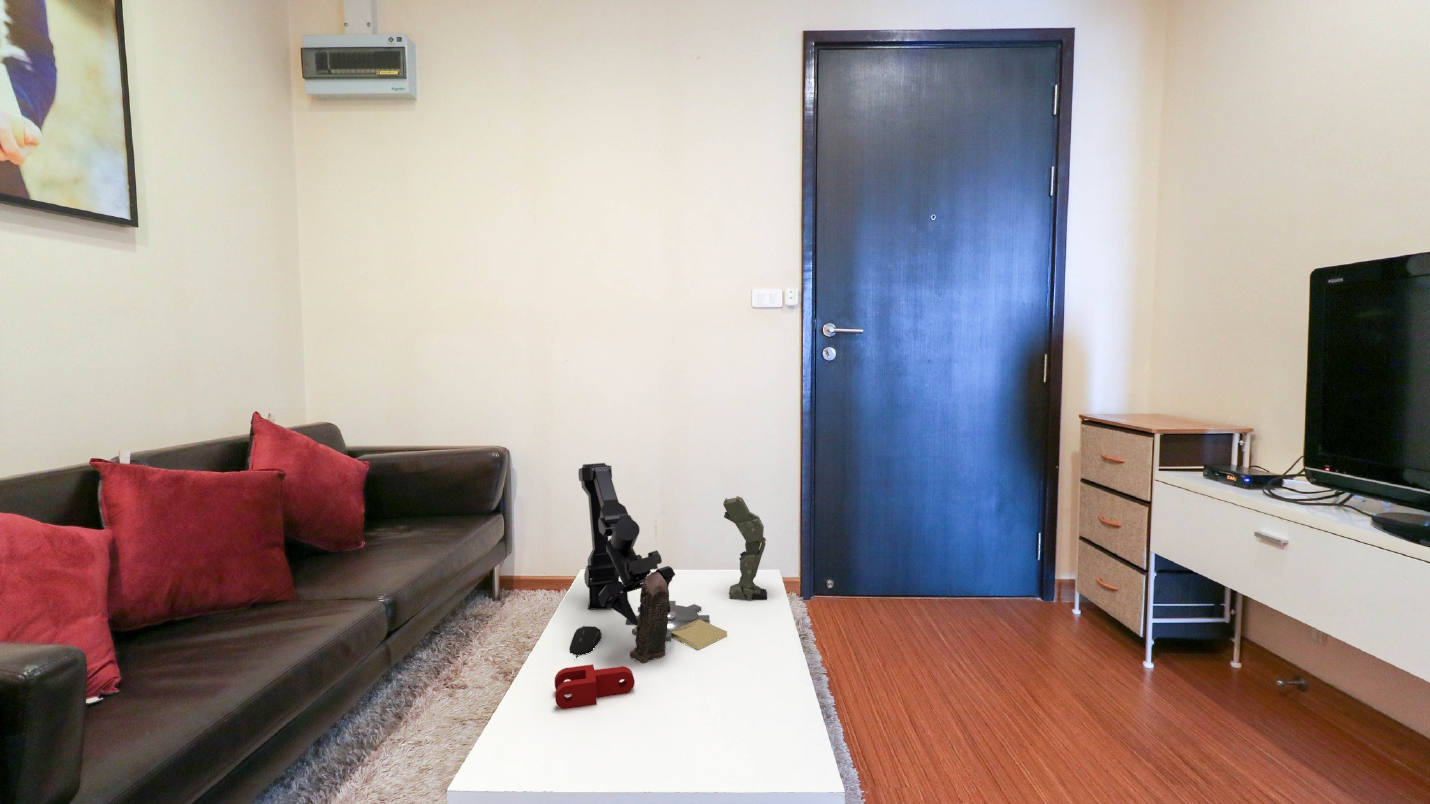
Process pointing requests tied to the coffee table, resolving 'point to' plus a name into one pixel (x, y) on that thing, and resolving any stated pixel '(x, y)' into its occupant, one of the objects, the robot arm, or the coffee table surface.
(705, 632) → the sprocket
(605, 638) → the coffee table surface
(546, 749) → the coffee table surface
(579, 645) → the gaming mouse
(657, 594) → the statue
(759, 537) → the mechanical leg
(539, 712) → the coffee table surface
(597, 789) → the coffee table surface
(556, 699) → the mechanical linkage
